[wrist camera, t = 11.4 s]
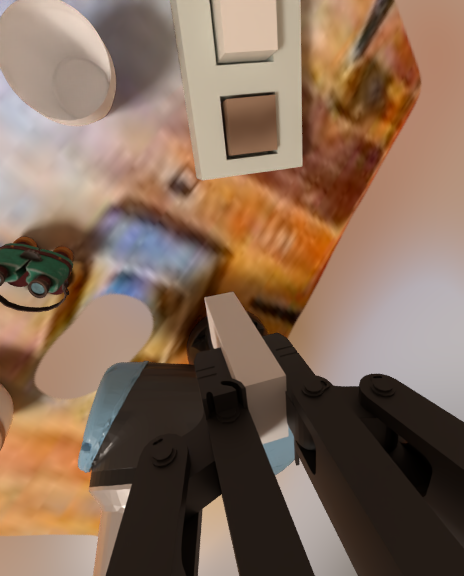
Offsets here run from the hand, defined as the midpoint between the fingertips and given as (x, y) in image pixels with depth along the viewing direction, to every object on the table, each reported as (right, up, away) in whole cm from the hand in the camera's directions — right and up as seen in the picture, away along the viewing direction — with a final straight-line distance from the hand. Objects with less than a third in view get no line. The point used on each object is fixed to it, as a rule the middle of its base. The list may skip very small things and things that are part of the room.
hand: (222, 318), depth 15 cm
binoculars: (-27, +4, +28) cm, 39 cm away
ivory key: (+1, +31, +19) cm, 37 cm away
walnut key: (+2, +23, +25) cm, 34 cm away
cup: (-17, +25, +21) cm, 37 cm away
